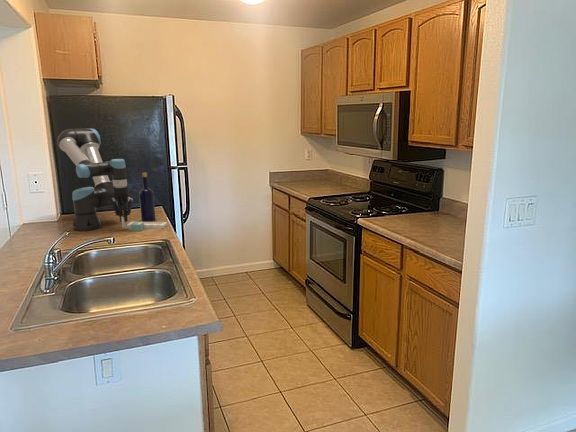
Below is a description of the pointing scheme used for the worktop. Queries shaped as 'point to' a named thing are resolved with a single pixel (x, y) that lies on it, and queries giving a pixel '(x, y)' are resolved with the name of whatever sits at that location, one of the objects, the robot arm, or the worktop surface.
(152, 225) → the slab
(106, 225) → the worktop surface
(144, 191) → the bottle
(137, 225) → the stub
